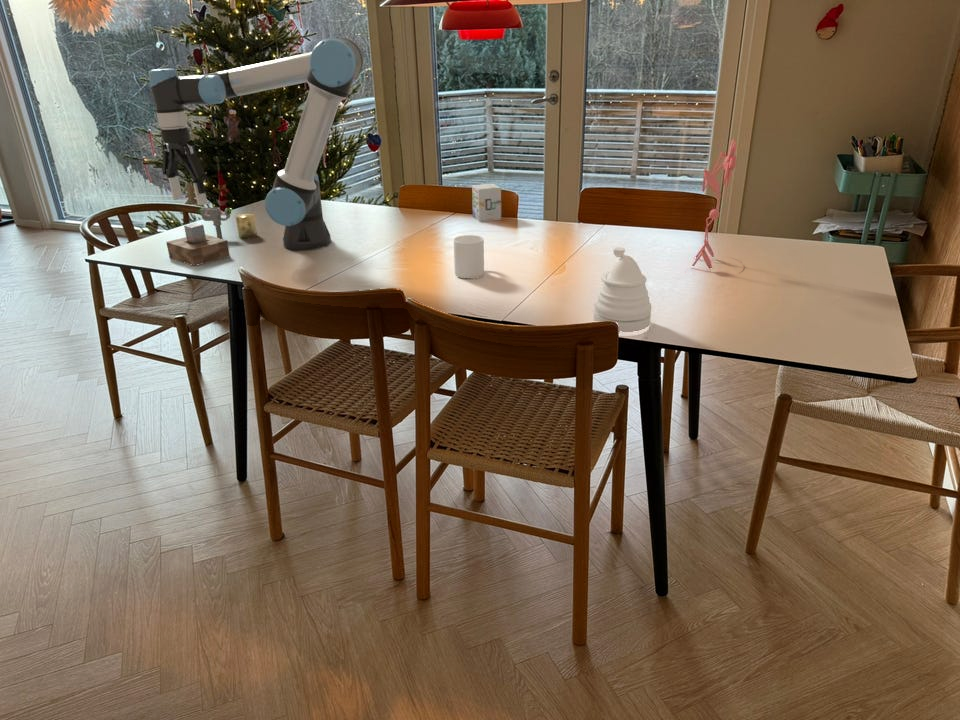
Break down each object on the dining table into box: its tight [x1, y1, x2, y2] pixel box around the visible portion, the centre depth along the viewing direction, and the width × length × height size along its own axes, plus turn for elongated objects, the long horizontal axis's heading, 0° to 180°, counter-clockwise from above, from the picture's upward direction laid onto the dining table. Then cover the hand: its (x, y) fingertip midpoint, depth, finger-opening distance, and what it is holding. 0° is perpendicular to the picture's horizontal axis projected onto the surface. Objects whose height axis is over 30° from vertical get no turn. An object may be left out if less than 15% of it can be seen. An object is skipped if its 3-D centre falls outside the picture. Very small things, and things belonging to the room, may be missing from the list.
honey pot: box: [593, 246, 652, 332], centre depth 158 cm, size 13×13×18 cm
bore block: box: [165, 233, 231, 266], centre depth 214 cm, size 14×12×5 cm
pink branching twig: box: [691, 138, 738, 270], centre depth 192 cm, size 15×26×35 cm, turn 158°
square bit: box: [183, 222, 206, 245], centre depth 213 cm, size 4×4×10 cm
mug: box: [453, 234, 485, 280], centre depth 195 cm, size 12×8×10 cm
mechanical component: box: [198, 207, 232, 239], centre depth 232 cm, size 3×10×10 cm, turn 89°
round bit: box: [235, 213, 258, 240], centre depth 234 cm, size 6×6×7 cm
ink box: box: [471, 182, 502, 223], centre depth 250 cm, size 8×8×12 cm
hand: (190, 201), depth 208 cm, fingers open, 13 cm apart
